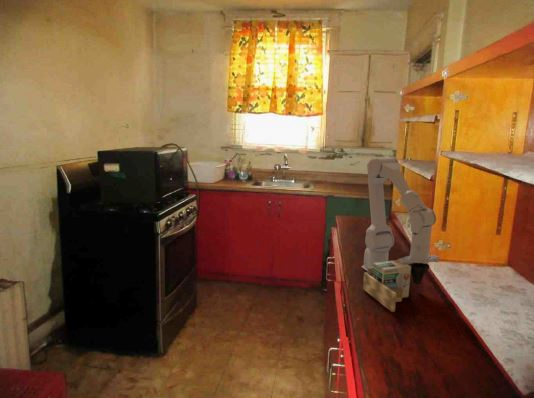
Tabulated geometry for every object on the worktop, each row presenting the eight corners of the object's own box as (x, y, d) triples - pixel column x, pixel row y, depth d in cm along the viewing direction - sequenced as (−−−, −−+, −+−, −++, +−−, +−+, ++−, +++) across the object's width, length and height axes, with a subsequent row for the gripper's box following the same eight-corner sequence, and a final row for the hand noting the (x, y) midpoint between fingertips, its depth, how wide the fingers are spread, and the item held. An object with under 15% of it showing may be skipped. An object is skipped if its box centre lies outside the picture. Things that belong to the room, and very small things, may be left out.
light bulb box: (381, 301, 121) (384, 269, 119) (369, 292, 128) (371, 262, 126) (409, 297, 125) (412, 266, 123) (396, 288, 131) (398, 259, 129)
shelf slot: (363, 289, 130) (364, 267, 129) (381, 286, 132) (383, 265, 131) (391, 312, 114) (393, 287, 113) (412, 309, 116) (414, 284, 115)
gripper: (409, 250, 120) (405, 290, 123) (446, 247, 124) (442, 285, 127) (395, 244, 127) (392, 281, 130) (432, 240, 131) (428, 277, 134)
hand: (416, 283), depth 129 cm, fingers closed
